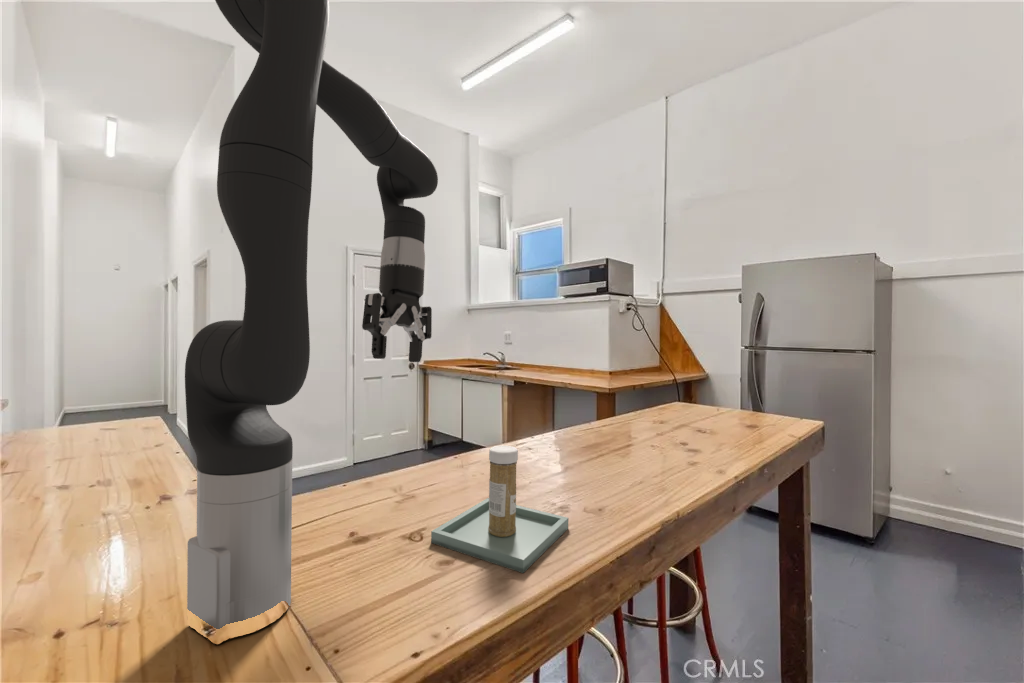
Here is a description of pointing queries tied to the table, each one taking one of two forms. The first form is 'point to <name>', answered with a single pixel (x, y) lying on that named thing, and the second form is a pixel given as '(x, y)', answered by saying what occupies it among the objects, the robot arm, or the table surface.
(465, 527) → the tray
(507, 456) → the spice jar
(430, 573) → the table surface
